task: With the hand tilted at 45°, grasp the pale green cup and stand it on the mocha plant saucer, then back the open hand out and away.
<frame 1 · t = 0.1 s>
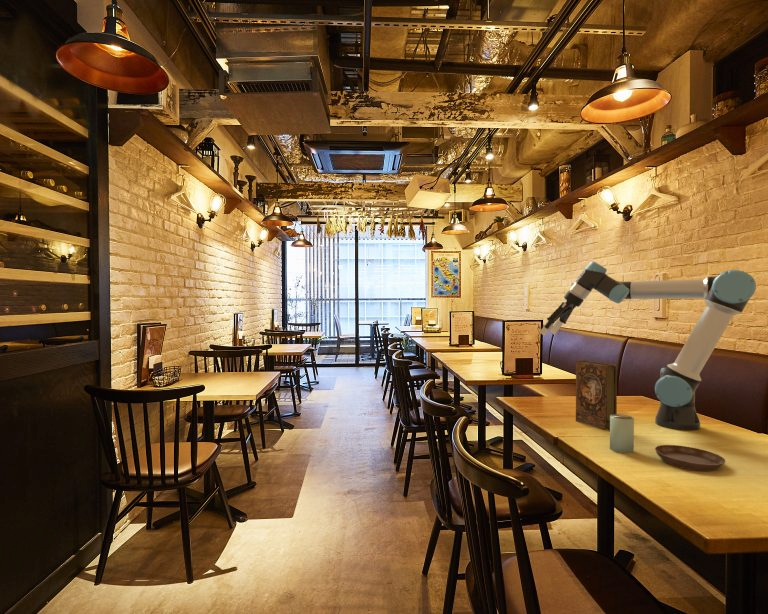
hand: (547, 333, 197), 36 cm above the table, tool tilted 35°, fingers open, 13 cm apart
book: (594, 425, 178), on the table
plant saucer: (688, 464, 134), on the table
pale green cup: (621, 450, 146), on the table
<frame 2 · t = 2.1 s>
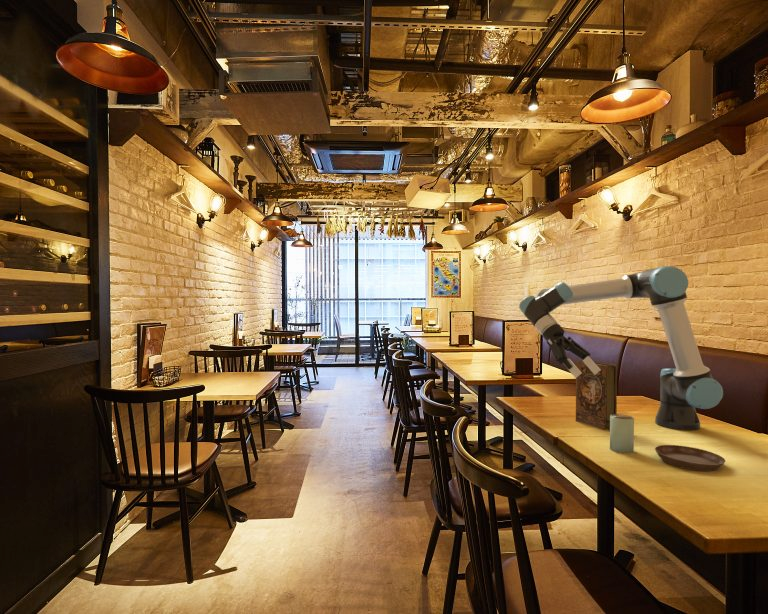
hand: (588, 374, 155), 24 cm above the table, tool tilted 45°, fingers open, 13 cm apart
nothing on the table moved.
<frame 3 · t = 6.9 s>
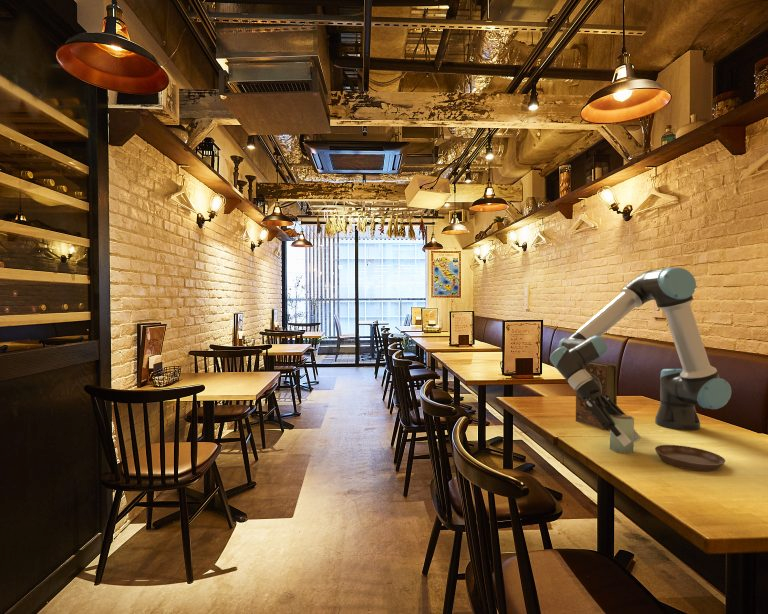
hand: (632, 441, 143), 4 cm above the table, tool tilted 45°, fingers closed on pale green cup, 7 cm apart
pale green cup: (621, 450, 146), on the table, touching gripper
everything else where it was.
when the fingers open (8 cm above the table, at t = 11.8 s): pale green cup drops 2 cm, resting on plant saucer.
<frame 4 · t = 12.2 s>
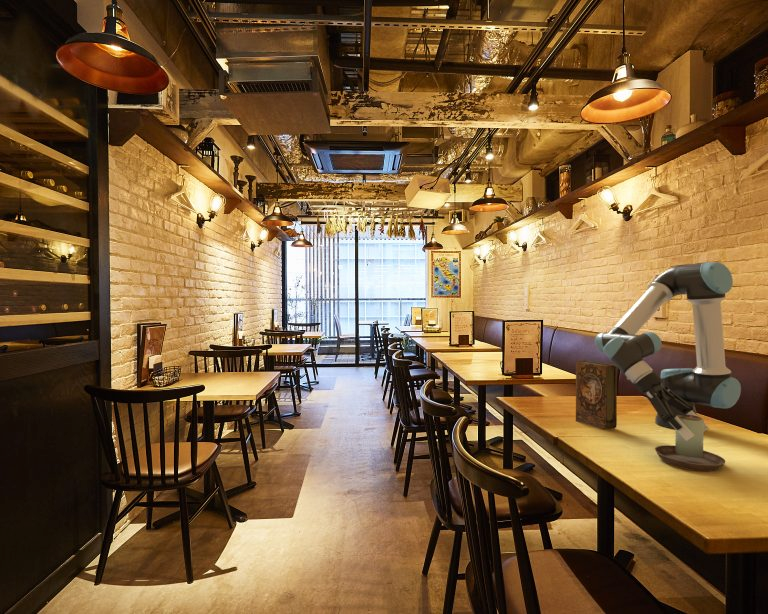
hand: (698, 434, 132), 9 cm above the table, tool tilted 45°, fingers open, 13 cm apart
plant saucer: (688, 464, 134), on the table, touching pale green cup
pale green cup: (688, 453, 134), point 3 cm above the table, touching plant saucer
everything else where it was.
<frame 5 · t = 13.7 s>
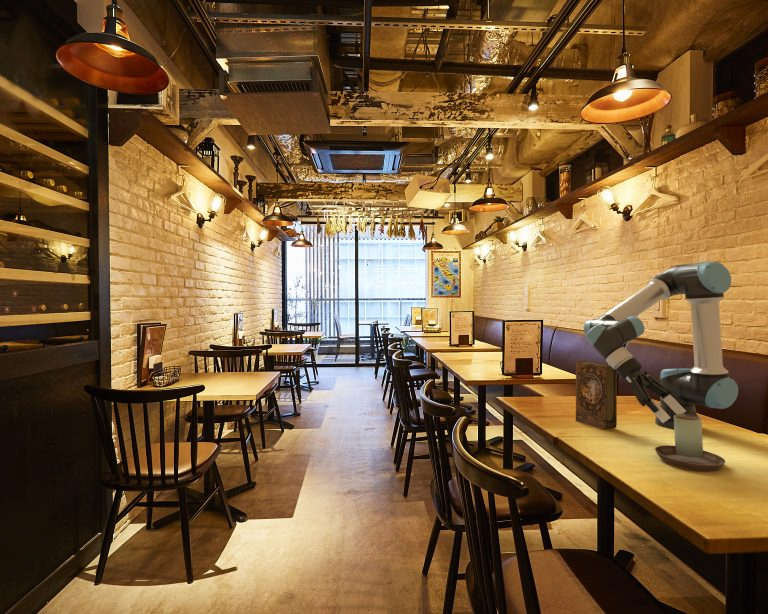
hand: (674, 417, 137), 13 cm above the table, tool tilted 45°, fingers open, 13 cm apart
nothing on the table moved.
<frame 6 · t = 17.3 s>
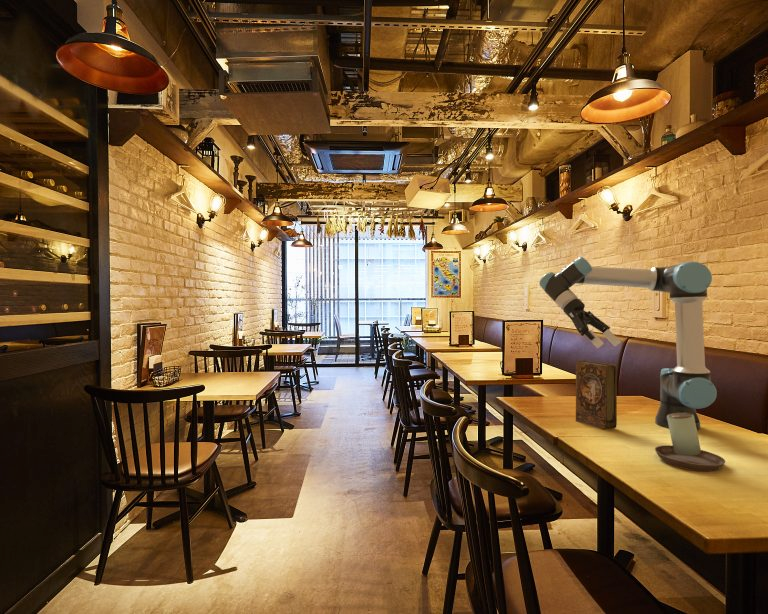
hand: (609, 345, 160), 34 cm above the table, tool tilted 45°, fingers open, 13 cm apart
pale green cup: (687, 451, 134), point 3 cm above the table, tilted 11°, touching plant saucer
everything else where it was.
at the end: pale green cup 0.4 cm from the plant saucer (horizontally); pale green cup touching plant saucer; pale green cup tilted 11° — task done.
